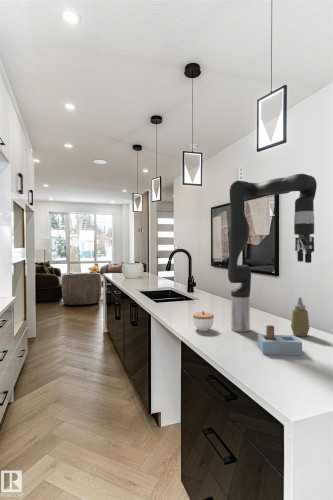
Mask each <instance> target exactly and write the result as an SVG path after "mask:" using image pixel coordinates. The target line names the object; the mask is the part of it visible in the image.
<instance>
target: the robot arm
mask: <svg viewBox="0 0 333 500" xmlns="http://www.w3.org/2000/svg"><path fill="white" fill-rule="evenodd" d="M317 186H318V185H317V180H316V178H315V177H314V176H312V175H309V174H306V173H296V174H292V175H288V176H287V177H286V176H285V177H279V178H277V177H276V178H272V179H270V180H265V181H264V182H263V181H262V182H258V183H257V182H248V181H244V180H234V181H233V182H232V183H231V185H230V187H229V205H230V206H229V207H230V226H229V227H230V230H229V256H228V257H229V258H228V265H227V266H228V269H227V279H228V281H229V283H230V284H240V285H239V286H237V287H236V288H233V289H232V290H231V291H230V300H231V303H230V306H231V307H230V309H231V310H230V311H231V312H230V315H231V316H230V318H231V321H230V329H231V330H232V331H235V332H239V333H248V332H249V331H250V330H251V327H250V326H251V322H250V321H251V319H250V318H251V317H250V316H251V310H250V309H251V303H250V301H251V300H250V299H251V298H250V297H251V295H250V293H251V286H252V285H251V282H252V270H251V267H250V266H249V265H248V264H238V260H239V257H240V255H241V253H242V252H243V250H244V249H245V247H246V246H247V244H248V241H249V239H250V226H249V221H248V219H247V216H246V214H245V211H244V201H247V200H250V199H253V198H257V197H262V196H274V195H284V194H289V193H291V192H299V197H298V198H296V199H295V200H294V216H293V222H294V223H293V224H294V225H293V227H294V228H293V229H294V230H293V231H294V232H293V234H294V235H298V237H295V238H294V241H295V244H294V247H295V248H294V251H295V252H296V255H297V258H296V259H297V262H299V263H301V262H303V263H306V264H309V263H310V264H311V263H312V254H313V253H314V252H315V237H314V236H311V235H314V234H315V214H314V212H315V211H314V210H315V209H314V208H315V207H314V206H315V205H314V204H315V203H314V200H315V197H316V193H317Z"/></svg>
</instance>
